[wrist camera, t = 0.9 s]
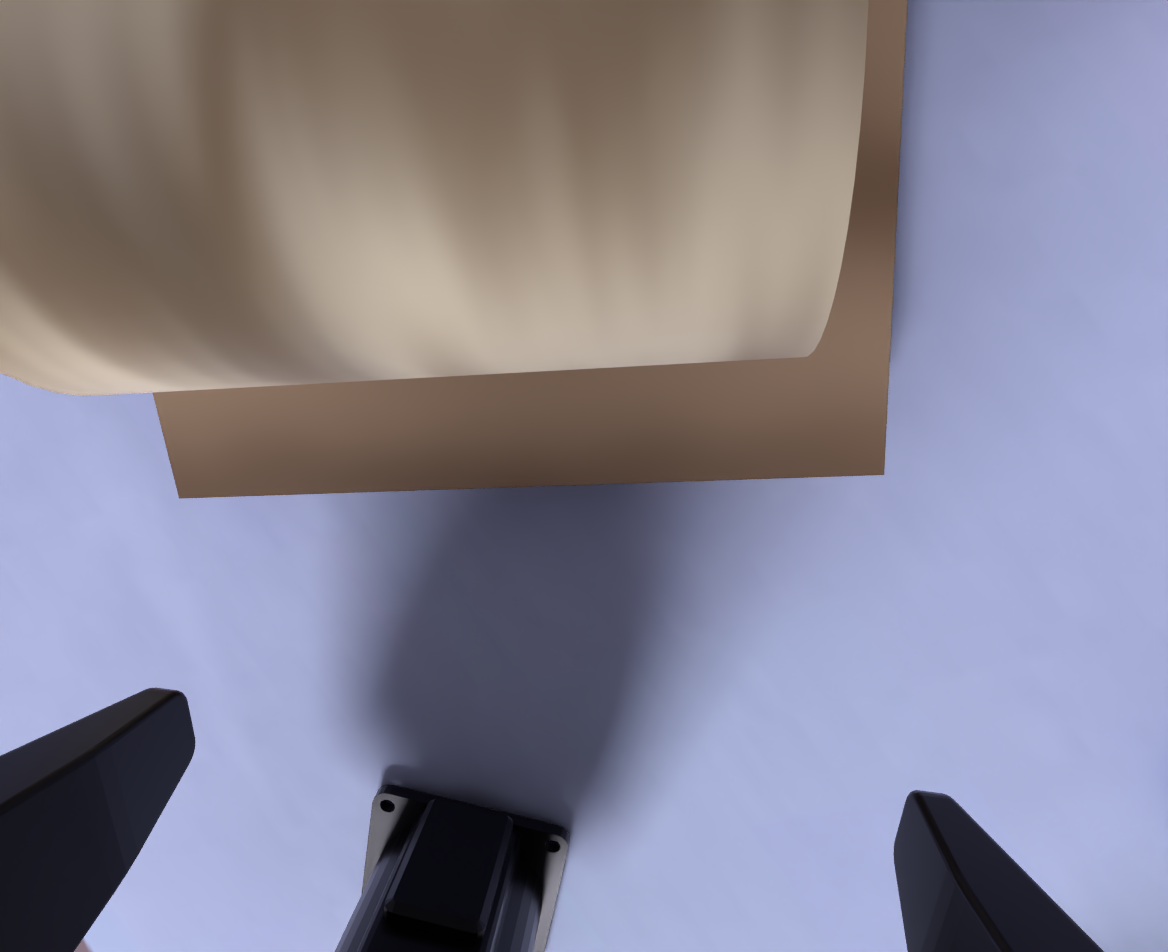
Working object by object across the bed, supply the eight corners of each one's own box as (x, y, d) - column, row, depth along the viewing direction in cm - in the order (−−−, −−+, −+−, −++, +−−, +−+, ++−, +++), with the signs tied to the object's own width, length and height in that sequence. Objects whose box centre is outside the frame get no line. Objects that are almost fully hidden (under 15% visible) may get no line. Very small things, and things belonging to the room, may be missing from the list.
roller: (768, 320, 16) (852, 415, 8) (244, 352, 17) (-81, 456, 10) (769, -132, 13) (892, -584, 6) (155, -47, 15) (-373, -313, 7)
